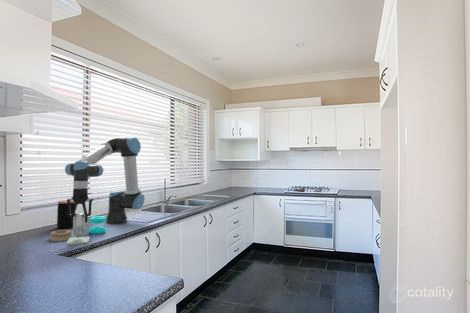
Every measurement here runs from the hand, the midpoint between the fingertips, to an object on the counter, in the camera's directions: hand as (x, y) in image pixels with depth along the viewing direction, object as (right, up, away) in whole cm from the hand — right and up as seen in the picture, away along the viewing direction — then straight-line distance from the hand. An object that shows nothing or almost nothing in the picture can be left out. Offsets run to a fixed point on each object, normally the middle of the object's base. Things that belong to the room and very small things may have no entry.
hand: (79, 228), depth 176 cm
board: (0, -8, 0) cm, 8 cm away
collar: (-13, -7, +4) cm, 16 cm away
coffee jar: (-25, -7, +32) cm, 41 cm away
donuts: (+1, -8, +21) cm, 23 cm away
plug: (0, -5, 0) cm, 5 cm away
